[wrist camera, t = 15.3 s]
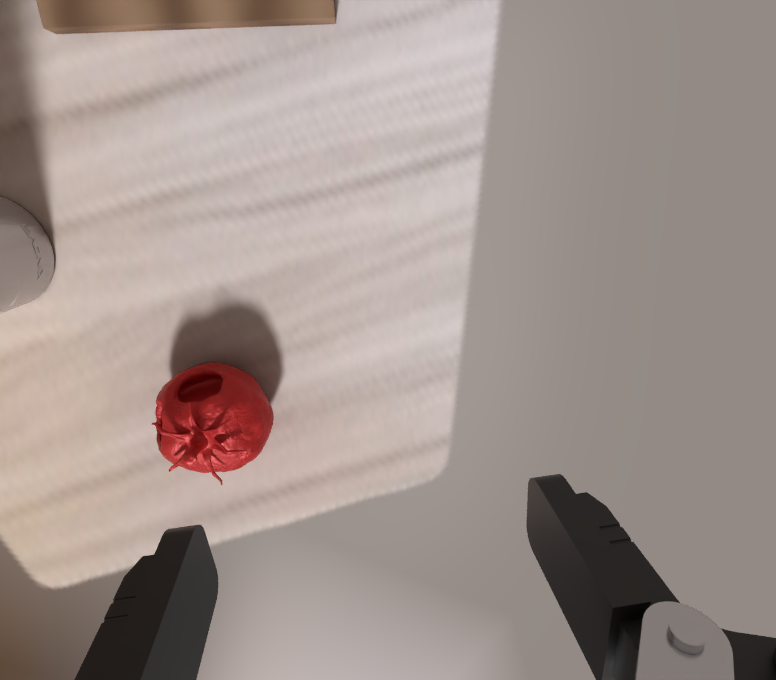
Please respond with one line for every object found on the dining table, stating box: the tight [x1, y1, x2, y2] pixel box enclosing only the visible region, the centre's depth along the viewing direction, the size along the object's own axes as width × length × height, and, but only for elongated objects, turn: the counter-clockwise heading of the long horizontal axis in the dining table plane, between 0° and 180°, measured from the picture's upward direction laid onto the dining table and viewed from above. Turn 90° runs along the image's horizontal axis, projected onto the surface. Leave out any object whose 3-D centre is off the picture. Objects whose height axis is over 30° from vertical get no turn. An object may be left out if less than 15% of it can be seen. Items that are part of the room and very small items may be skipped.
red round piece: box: [152, 362, 274, 485], centre depth 40 cm, size 10×10×9 cm
